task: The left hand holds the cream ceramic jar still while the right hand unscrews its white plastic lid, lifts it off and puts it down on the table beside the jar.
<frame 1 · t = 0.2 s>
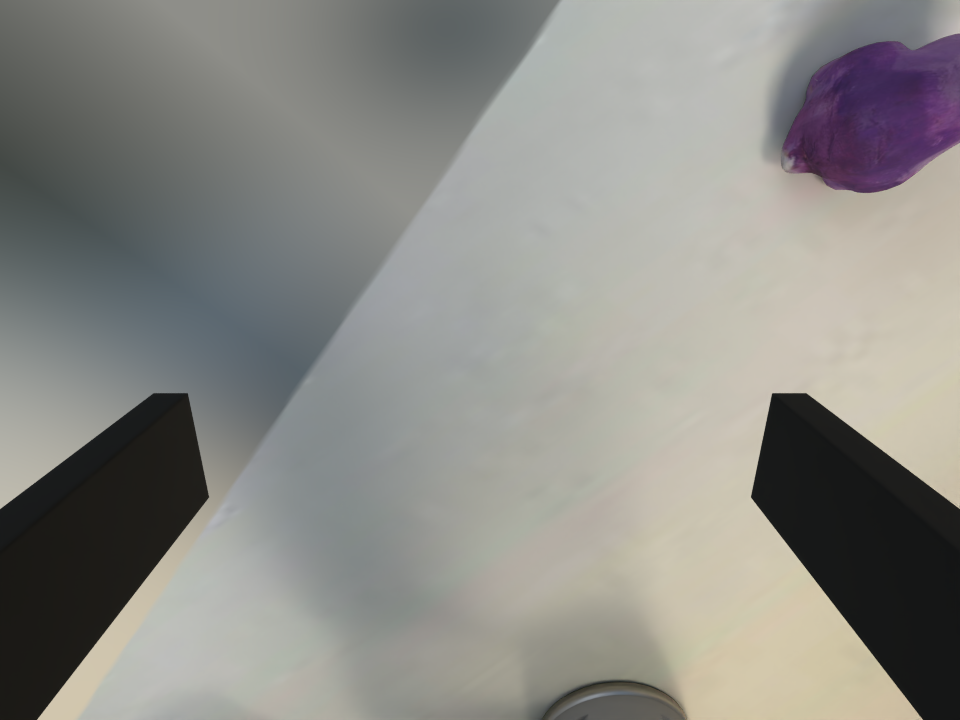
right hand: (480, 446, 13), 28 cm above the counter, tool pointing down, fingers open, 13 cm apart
figurine: (859, 107, 36), on the counter
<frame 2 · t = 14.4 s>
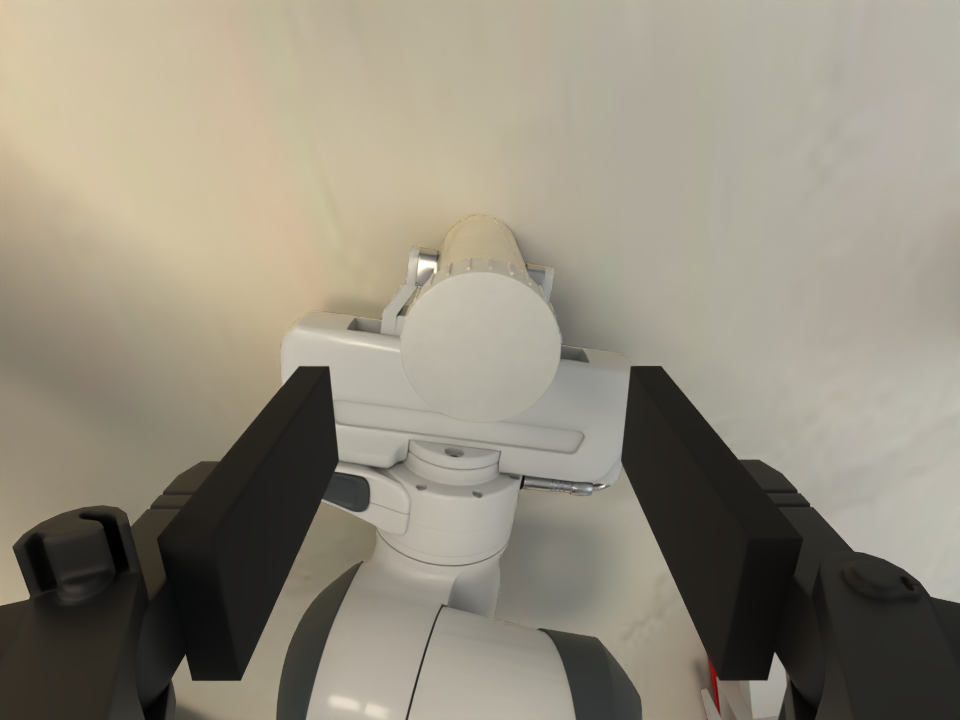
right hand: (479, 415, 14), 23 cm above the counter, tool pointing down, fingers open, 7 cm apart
left hand: (481, 257, 30), fingers closed on jar, 5 cm apart
lid: (480, 348, 19), point 18 cm above the counter, screwed on, not yet turned
toy: (756, 708, 51), on the counter
jar: (480, 253, 36), on the counter, touching left hand
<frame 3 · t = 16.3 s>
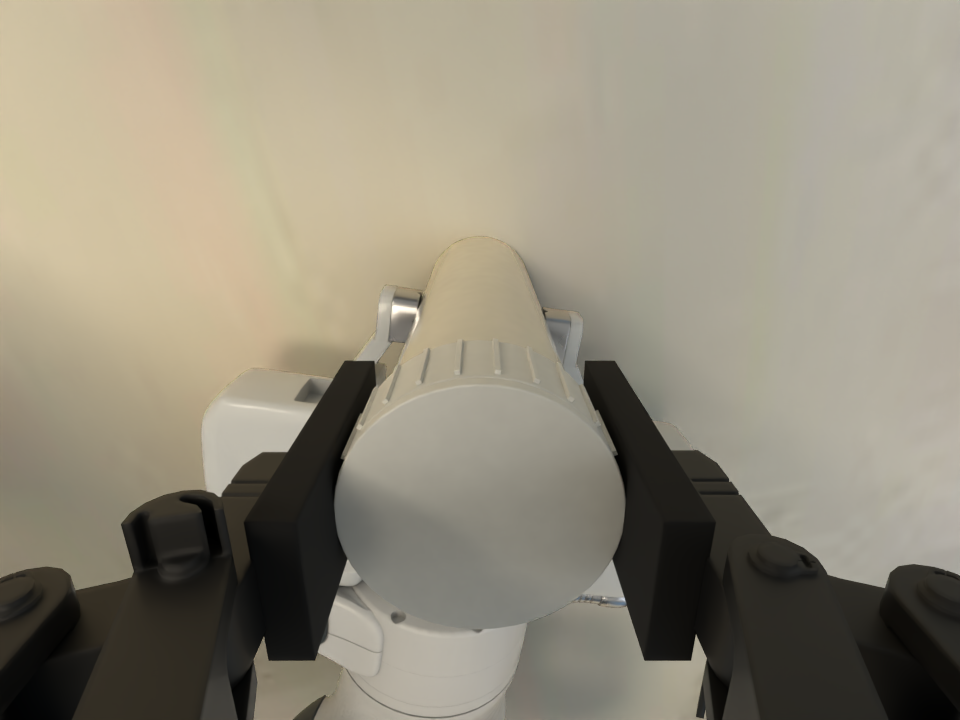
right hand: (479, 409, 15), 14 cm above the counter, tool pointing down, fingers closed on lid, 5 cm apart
lid: (479, 507, 11), point 18 cm above the counter, screwed on, not yet turned, touching right hand
jar: (479, 285, 28), on the counter, touching left hand
when the right hand's fingers open (0 cm above the counter, at t = 30.3 s): lid drops 2 cm, point 2 cm above the counter.
when the left hand's fingers open (6 cm above the counter, at t = 31.0 s): jar stays where it is, on the counter.
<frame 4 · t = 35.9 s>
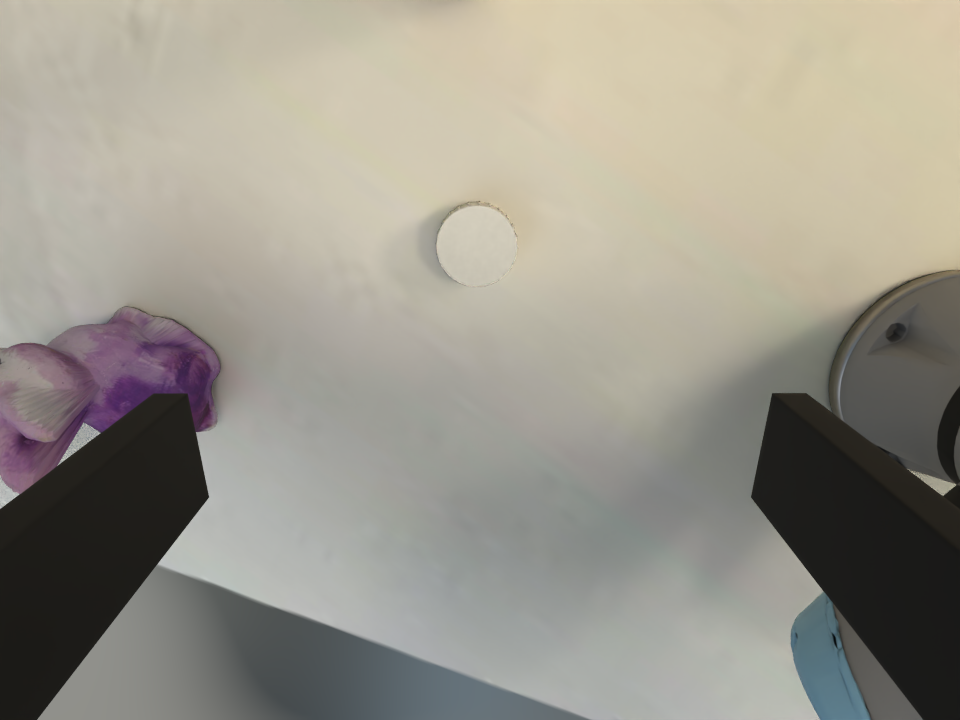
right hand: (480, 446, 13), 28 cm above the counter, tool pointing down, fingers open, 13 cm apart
lid: (476, 246, 37), point 2 cm above the counter, off its thread
figurine: (157, 361, 43), on the counter
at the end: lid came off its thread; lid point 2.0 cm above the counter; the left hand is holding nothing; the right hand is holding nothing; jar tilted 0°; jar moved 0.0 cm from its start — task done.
